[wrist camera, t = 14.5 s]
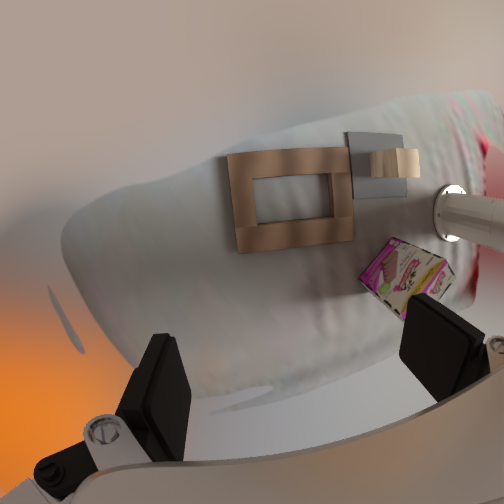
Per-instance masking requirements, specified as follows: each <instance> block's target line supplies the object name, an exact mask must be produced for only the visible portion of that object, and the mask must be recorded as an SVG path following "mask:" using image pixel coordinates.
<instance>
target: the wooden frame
mask: <svg viewBox="0 0 504 504" xmlns="http://www.w3.org/2000/svg"><path fill="white" fill-rule="evenodd" d="M227 161H228V170H229V179H230V188H231V197H232V206H233V214H234V223H235V231H236V240H237V248H238V254H245V253H253V252H262V251H270V250H278V249H287V248H295V247H303V246H312V245H320V244H328V243H337V242H345V241H353V240H354V224H353V201H352V186H351V173H350V162H349V152H348V147H331V148H298V149H280V150H266V151H255V152H244V153H235V154H227ZM321 173H327V175H328V187H329V200H330V216H329V217H318V218H308V219H298V220H288V221H279V222H270V223H261V224H257V219H256V209H255V200H254V190H253V181H252V179H255V178H265V177H277V176H289V175H304V174H321Z"/></svg>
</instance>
